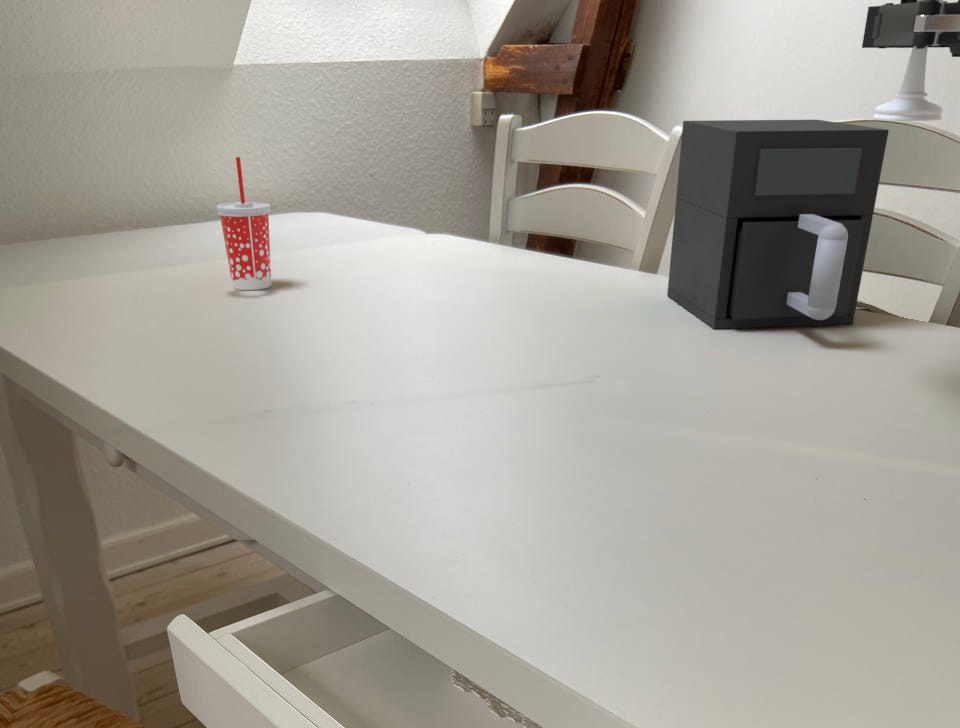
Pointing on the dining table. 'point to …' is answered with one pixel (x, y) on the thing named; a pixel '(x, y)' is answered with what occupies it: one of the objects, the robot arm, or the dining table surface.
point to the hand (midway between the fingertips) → (887, 27)
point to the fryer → (764, 200)
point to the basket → (793, 267)
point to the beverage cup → (247, 240)
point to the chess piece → (911, 94)
